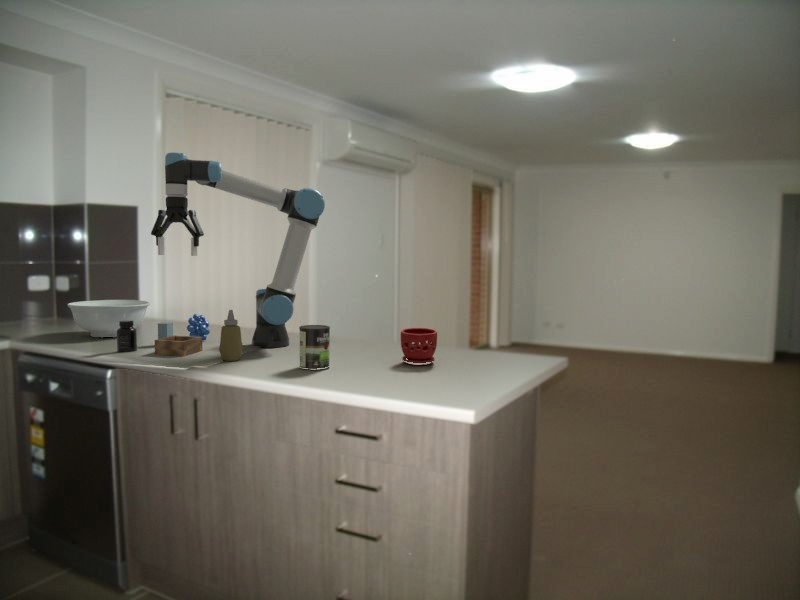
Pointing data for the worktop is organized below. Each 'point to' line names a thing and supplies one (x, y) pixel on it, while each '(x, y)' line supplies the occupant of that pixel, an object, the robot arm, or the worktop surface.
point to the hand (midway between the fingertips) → (177, 255)
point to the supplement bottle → (126, 337)
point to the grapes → (198, 326)
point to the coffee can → (314, 346)
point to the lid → (165, 330)
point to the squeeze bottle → (230, 339)
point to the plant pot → (416, 350)
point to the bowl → (107, 315)
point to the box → (178, 345)
